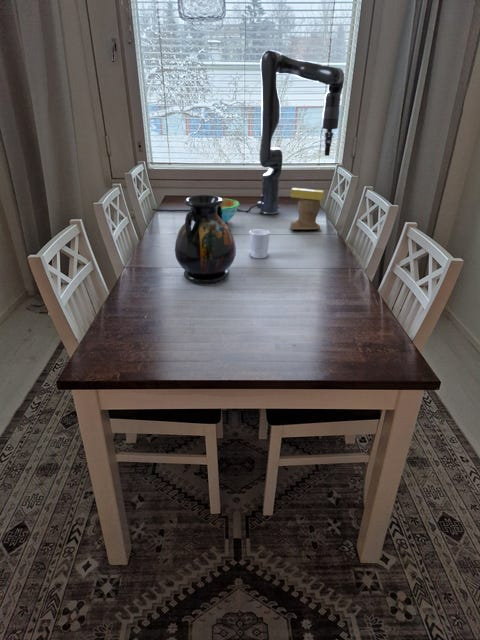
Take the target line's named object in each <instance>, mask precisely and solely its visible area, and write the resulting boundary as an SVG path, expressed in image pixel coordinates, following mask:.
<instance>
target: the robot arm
mask: <svg viewBox="0 0 480 640" xmlns="http://www.w3.org/2000/svg"><path fill="white" fill-rule="evenodd" d="M278 74H286V75H292V76H295V77H298V78H301V79H304V80H307V81H312V82H317V83H321V84H324V85H327V86H328V87H327V92H326V93H325V95H324V104H323V110H322V118H321V120H322V121H321V129H324V130H326V132H324V156H325V157H328V156H330V152H331V147H332V143H333V138H334V132H333V130H337V129H338V128H339V121H340V120H339V119H340V105H341V95H342V91H343V88H344V84H345V83H344V82H345V73H344V70H343V69H342V68H340V67H335V66H328V65H323V64H321V63H317V62H314V61H307V60H301V59H295V58H291V57H288V56H287V55H285V54H283V53H281V52H279V51H278V50H277V51H276V50H272V49H268V50H266V51H264V52H263V54H262V55H261V58H260V78H261V134H260V147H259V163H260V165H261V167H263V168H268V169H267V171H266V172H265V173H262V177H261V195H260V200H259V201H257V203H256V204H254V205H252V206H250V207H249V209H247V210H243V209H240V208H237V210H236V211H238V212H243V213H249V212H250V211H251V210H252V209H253V208H255V207H256V208H257V209H259V210H260V214H264V215H277V214H278V213H279V210H280V209H279V195H280V178H281V175H282V168H283V151H282V150H281V149H280V148H279V147H272V139H273V136H274V134H275V132H276V130H277V128H278V125H279V123H280V120H281V101H280V97H279V93H278V89H277V76H278ZM152 211H157V212H191V208H189V209H163V208H152Z"/></svg>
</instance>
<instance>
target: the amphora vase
mask: <svg viewBox="0 0 480 640" xmlns="http://www.w3.org/2000/svg"><path fill="white" fill-rule="evenodd" d="M221 198H222V197H220V196H217V195H210V194H207V195H206V194H202V195H201V194H200V195H192V196H189V197H188V196H187V198H185V199H184V201H183V203H184V204H185V205H186V206H187V207H189V209H191V211H187V213H186V214H185V218H184V219H185V221H184V223H183V225H182V226H181V227H180V229H179V231H178V233H177V235H176V238H175V242H174V243H175V246H174V255H175V259H176V261H177V263H178V265H180V267H181V268H182V269H183V270H184V271H183V277H184V278H185V280H186V281H188V282H190V283H193V284H195V285H205V286H206V285H207V286H208V285H215V284H219V283H221V282H223V281H225V280H227V278H229V275H230V270H229V268H230V267H231V266H232V264H233V263H234V261H235V258H236V256H237V246H236V240H235V237H234V234H233V232H232V230H231V228H230V227H229V226H228V224H226V222H225V223H224V222H223V221H222V209H221V206H220V205H221V204H222V203H223V200H222V199H221Z"/></svg>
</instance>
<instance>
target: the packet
mask: <svg viewBox="0 0 480 640" xmlns="http://www.w3.org/2000/svg"><path fill="white" fill-rule="evenodd" d="M324 194H325V192H324V190H321V189H312V188H300V187H292V188H291V190H290V198H296V199H300V198H304V199H314V200H319V201H324Z"/></svg>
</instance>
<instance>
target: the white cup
mask: <svg viewBox="0 0 480 640" xmlns="http://www.w3.org/2000/svg"><path fill="white" fill-rule="evenodd" d="M269 242H270V231H269V230H267V229H264V228H255V229H254V228H253V229H251V230H250V231H249V249H250V256H251V258H255V259H265V258H267V257H268V250H269Z"/></svg>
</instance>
